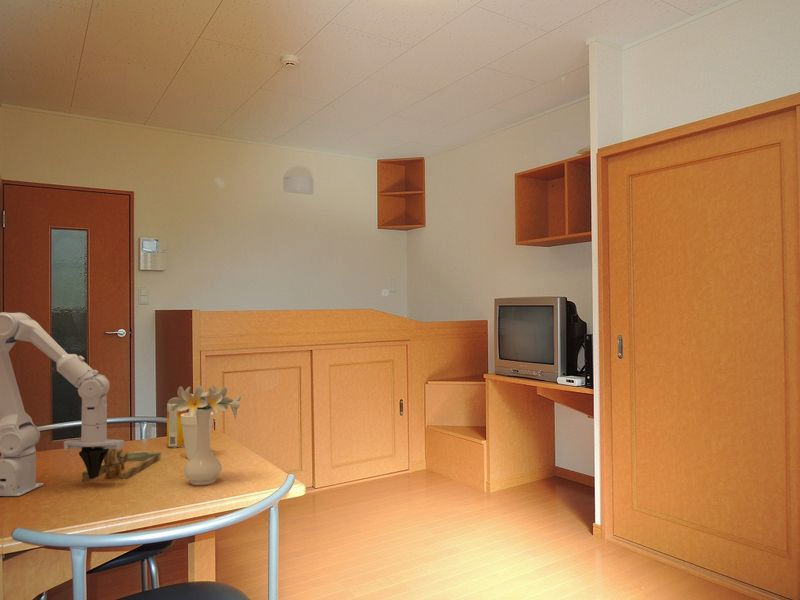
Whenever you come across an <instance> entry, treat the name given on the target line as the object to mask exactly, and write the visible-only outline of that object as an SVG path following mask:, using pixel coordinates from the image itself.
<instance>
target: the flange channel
mask: <svg viewBox="0 0 800 600" xmlns="http://www.w3.org/2000/svg"><path fill="white" fill-rule="evenodd" d="M124 452H125V453H126V455H125V456H124V463H126V462H127V461H128V462H130V461H131V462H140V461H141V462H140V463H137V464H136V465H134V466H132V467H129V468H128V469H127V470H124V471H123V472H122V473H121V480H127V479H129V478H130V477H132V476H134V475H136V474H137V473H139V472H141V471H144V470H145V469H147V468H148V467H150V466H152V465H154V464H155V463H157V462H159V461H161V460H162V458H161V457H162V451H161V452H159V451H158V452H157V451H149V450H137V451H124ZM120 465H121V460H120ZM113 469H115V467H113ZM104 473H105V474H106V470H105V464H104V461H103V462H102V465H101V468H100V471H99V476H101V475H102V474H104ZM81 474H82V476H81V480H82V482H89V481H91V480H92V479H94V478H89V475H88V472H87V470H85V471H83V472H81ZM88 480H89V481H88Z"/></svg>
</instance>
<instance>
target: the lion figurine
mask: <svg viewBox="0 0 800 600" xmlns="http://www.w3.org/2000/svg"><path fill="white" fill-rule="evenodd" d="M125 452H126V451H124V450H123V448H122V449H109V450H108V452H107V454H106V455H105V457H104V460H103V462H104V464H105V470H106V472H105V476H104V479H110V477H111V472H113V469H114V468H115V472H114V475H115V477H117V478H119V477H122V473H121V474H120V470H121V469H122V470H124V469H125V462H124V456H125V455H126V453H125ZM120 460H121V464H120ZM113 467H114V468H113Z"/></svg>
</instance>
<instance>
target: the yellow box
mask: <svg viewBox="0 0 800 600" xmlns="http://www.w3.org/2000/svg"><path fill="white" fill-rule="evenodd" d="M174 405H175V404H168V403H167V404H166V445H167V446H168V448H169V447H180V446H184V438H183V430H182V424H181V414H184V413H188V409H187V410H184V411H178V410H177V408H176V409H175V410H174V411H171V409H172V407H173V406H174ZM184 447H185V446H184ZM180 448H181V447H180Z"/></svg>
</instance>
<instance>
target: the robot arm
mask: <svg viewBox="0 0 800 600" xmlns="http://www.w3.org/2000/svg"><path fill="white" fill-rule="evenodd" d="M18 341H23V342H28V343H31V344H33V345H34V347H36V348H38V350H40V351H41V352H42V353H44V354H45V355H46V356H47V357H48V358H50V359H51V360H52V361H53V362H55V363H56V371H57V372H58V373H59V374H60V375H62V377H64V379H66V380H67V381H68V383H70V384H71V385H72V386H74V387H75V388H77V393H78V396H79V397H80V398H81V426H80V427H81V428H80V429H81V436H80V437H81V438H80V439H67V440H64V441H63V450H70V449H71V450H72V449H80V450H81V451H78V455H79V456H80V458H81V460H82V462H83V463H84V465H85V468H86V471H87V472H88V475H89V478H93V479H96V478H98V477H99V476H100V475H99V471H100V468H101V465H102V463H103V462H104V457H105V455H106V454H107V452H108V450H109V449H122V450H123V449H124V448H125V440H124V439H112V438H111V439H110V438H107V437H108V436H107V435H108V434H107V433H108V429H107V427H108V426H107V425H108V424H107V423H108V403H107V399H108V398H107V394H108V392H109V390H110V386H111V384H110V381H109V379H108V378H107V376H106V375H104V374H99V371H98V370H97V369H93V368H92V367H90V365H88V363H86V362H85V361H84V360H86V358H85V357H83V356H82V355H77V354H76V353H68V352H66V351H65V349H64V348H63V347H62V346H61V345H59V344H58V343H57V341H56V340H55V339H54V338H53V337H52V336H51V335H49V333H48V332H47V331H46V330H45V329H44V328H43V327H42V326H41V325H40V324H39V323H38V322H37V320H35V319H33V318H31V317H30V316H29V315H28V314H26V313H25V312H19V311H18V312H6V311H5V312H4V311H2V312H0V454H1V456H0V497H20V496H22V495H24V494H27V493H29V492H31V491H33V490H36V489H38V488H39V487H42V486H44V483H43V482H36V475H37V473H36V472H37V469H36V468H37V467H36V466H37V463H36V461H37V460H36V459H37V456H36V455H37V449H36V445H37V444H38V443H39V440H40V438H41V432H40V429H39V428H38V427H37V425H35V423H34V422H33V418H32V417H31V416H30V415H29V414H28V413H27V412H26V411H25V406H24V402H23V399H22V396H21V393H20V389H19V385H18V383H17V378H16V375H15V371H14V368H13V363H12V361H11V357H10V353H9V352H10V351H11V349H12V348H13V347H14V346H15V344H16V343H17V342H18Z"/></svg>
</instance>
